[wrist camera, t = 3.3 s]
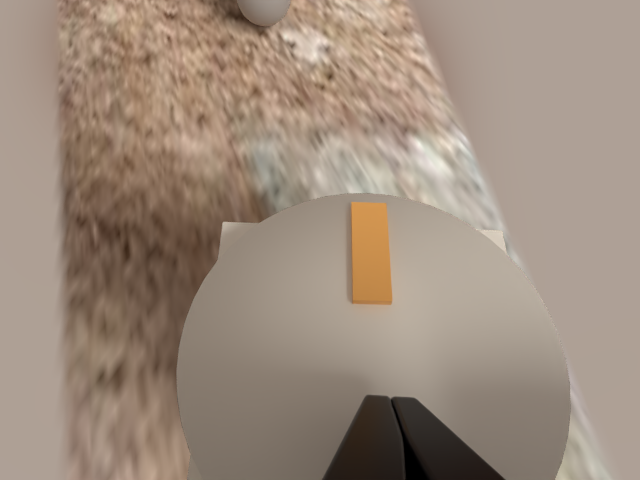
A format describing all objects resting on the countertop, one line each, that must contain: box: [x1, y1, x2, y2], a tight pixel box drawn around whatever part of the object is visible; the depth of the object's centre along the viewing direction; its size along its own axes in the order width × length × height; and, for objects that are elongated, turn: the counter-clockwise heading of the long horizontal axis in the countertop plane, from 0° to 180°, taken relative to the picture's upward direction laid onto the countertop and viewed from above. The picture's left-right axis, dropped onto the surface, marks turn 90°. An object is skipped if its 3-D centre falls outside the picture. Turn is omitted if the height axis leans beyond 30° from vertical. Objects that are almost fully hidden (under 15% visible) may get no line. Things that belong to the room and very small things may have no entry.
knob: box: [176, 193, 571, 480], centre depth 12 cm, size 8×8×7 cm
